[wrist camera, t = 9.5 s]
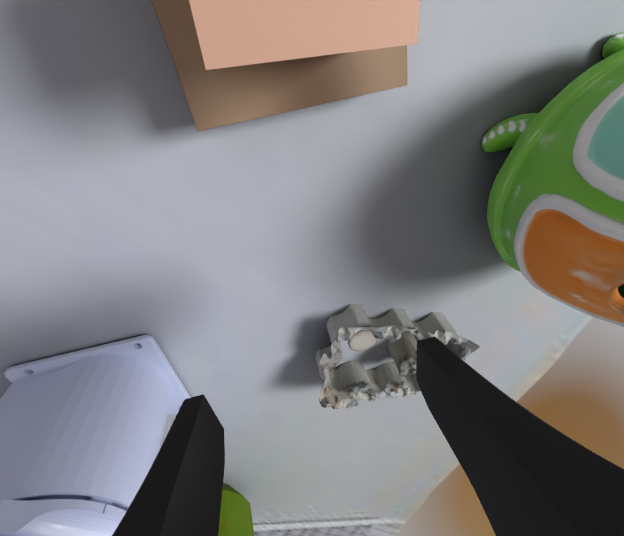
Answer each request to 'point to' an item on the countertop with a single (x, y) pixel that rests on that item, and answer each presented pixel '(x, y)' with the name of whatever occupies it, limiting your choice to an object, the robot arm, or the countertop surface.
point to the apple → (234, 514)
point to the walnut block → (270, 75)
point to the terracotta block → (299, 28)
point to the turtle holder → (567, 191)
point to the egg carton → (387, 377)
